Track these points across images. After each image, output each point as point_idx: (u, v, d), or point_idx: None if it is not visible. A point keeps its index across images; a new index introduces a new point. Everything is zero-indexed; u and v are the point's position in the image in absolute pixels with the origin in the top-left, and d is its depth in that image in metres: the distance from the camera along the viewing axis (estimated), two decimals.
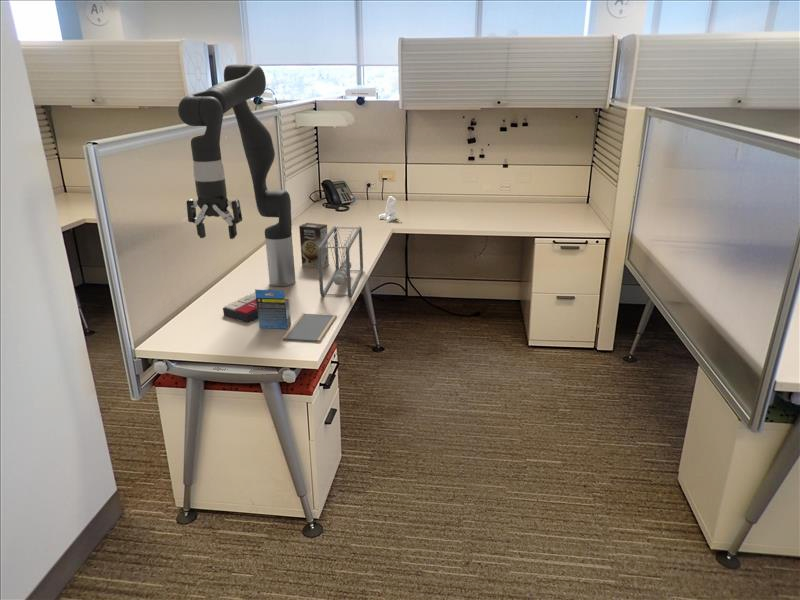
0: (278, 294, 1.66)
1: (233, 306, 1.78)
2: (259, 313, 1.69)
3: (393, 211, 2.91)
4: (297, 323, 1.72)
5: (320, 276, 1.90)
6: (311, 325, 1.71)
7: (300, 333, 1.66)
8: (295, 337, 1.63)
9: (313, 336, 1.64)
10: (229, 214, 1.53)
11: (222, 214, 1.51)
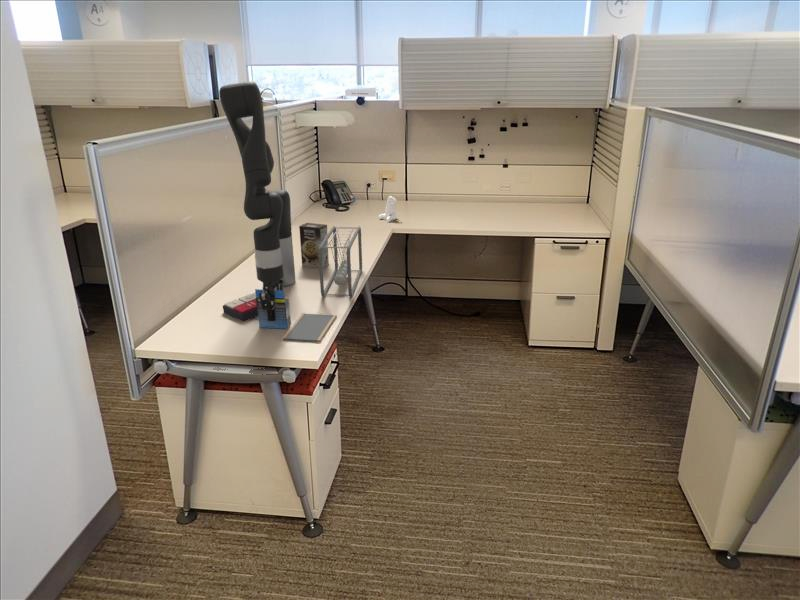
0: (278, 294, 1.66)
1: (232, 304, 1.80)
2: (259, 313, 1.69)
3: (393, 211, 2.91)
4: (297, 323, 1.72)
5: (321, 276, 1.90)
6: (311, 325, 1.71)
7: (300, 333, 1.66)
8: (295, 337, 1.63)
9: (313, 336, 1.64)
10: None
11: None
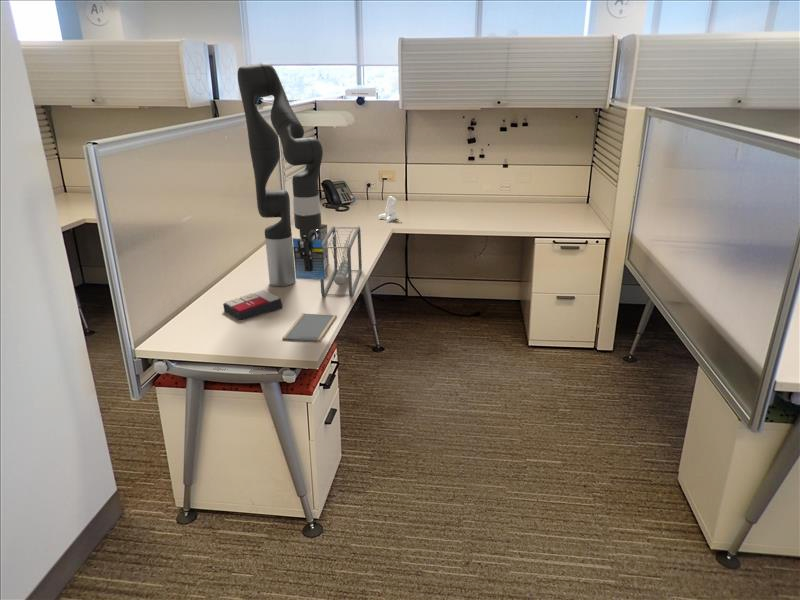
0: (316, 243, 1.64)
1: (232, 303, 1.81)
2: (296, 263, 1.67)
3: (393, 211, 2.91)
4: (297, 323, 1.72)
5: None
6: (311, 325, 1.71)
7: (300, 333, 1.66)
8: (295, 337, 1.63)
9: (313, 336, 1.64)
10: None
11: None
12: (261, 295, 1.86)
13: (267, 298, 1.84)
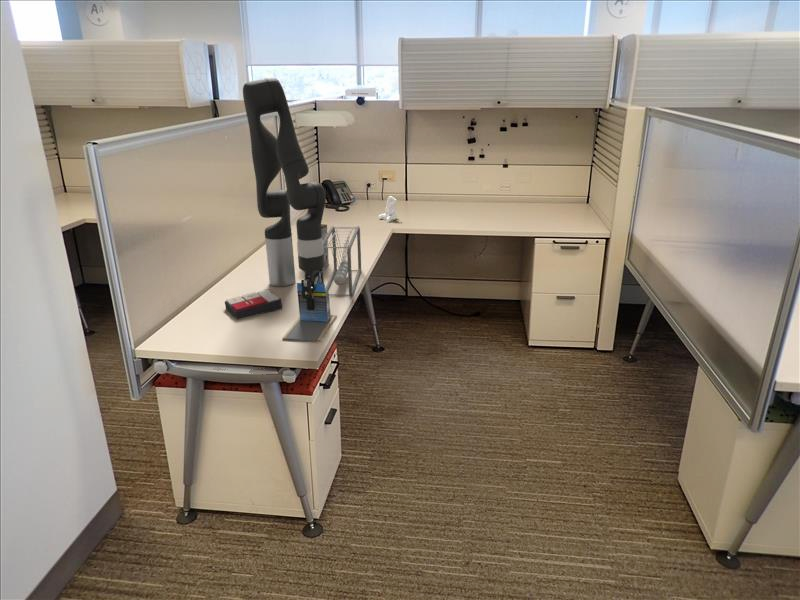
0: (319, 288, 1.69)
1: (232, 301, 1.82)
2: (300, 306, 1.72)
3: (393, 211, 2.91)
4: (297, 323, 1.72)
5: None
6: (311, 325, 1.71)
7: (300, 333, 1.66)
8: (295, 337, 1.63)
9: (313, 336, 1.64)
10: None
11: (321, 280, 1.73)
12: (263, 295, 1.86)
13: (267, 298, 1.84)
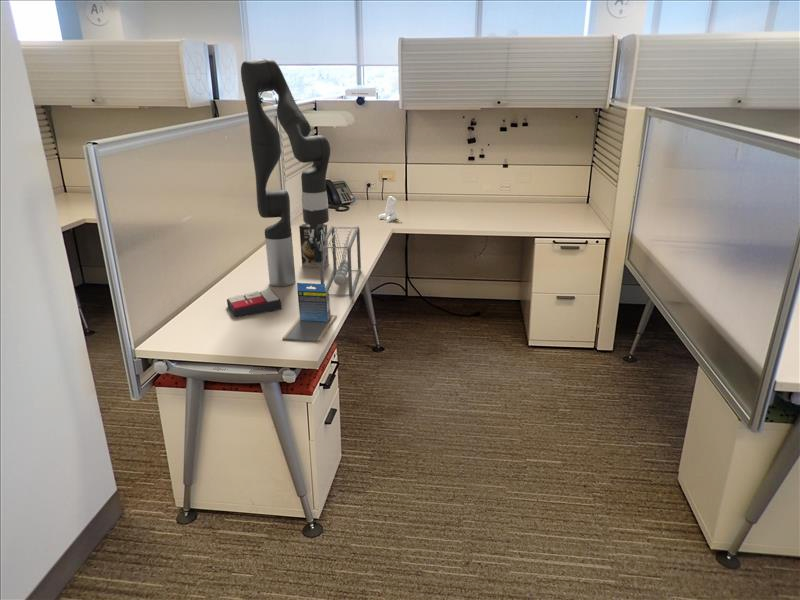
0: (319, 287, 1.69)
1: (233, 299, 1.84)
2: (300, 306, 1.72)
3: (393, 211, 2.91)
4: (297, 323, 1.72)
5: (321, 276, 1.90)
6: (311, 325, 1.71)
7: (300, 333, 1.66)
8: (295, 337, 1.63)
9: (313, 336, 1.64)
10: None
11: (324, 237, 1.74)
12: (264, 294, 1.87)
13: (267, 298, 1.84)
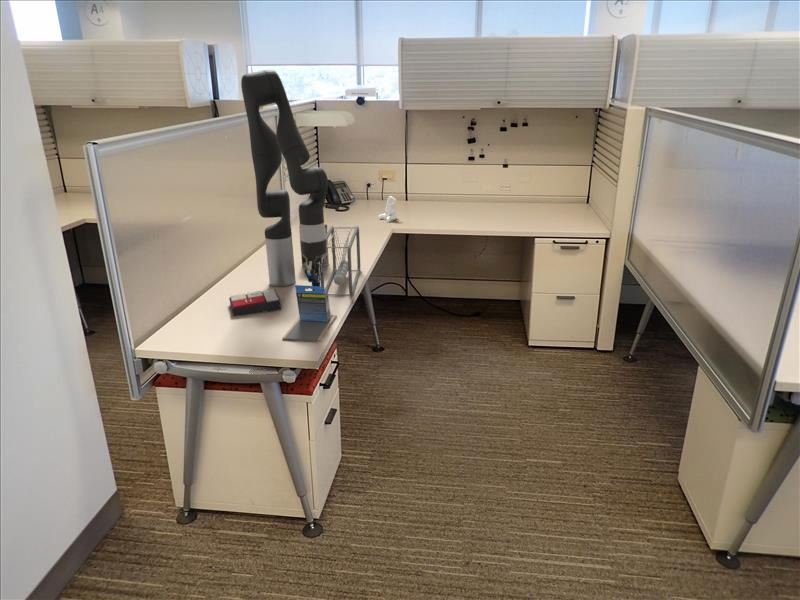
0: (318, 290, 1.67)
1: (235, 297, 1.85)
2: (299, 307, 1.72)
3: (393, 211, 2.91)
4: (297, 323, 1.72)
5: None
6: (311, 325, 1.71)
7: (300, 333, 1.66)
8: (295, 337, 1.63)
9: (313, 336, 1.64)
10: None
11: (321, 268, 1.72)
12: (266, 294, 1.87)
13: (268, 298, 1.84)
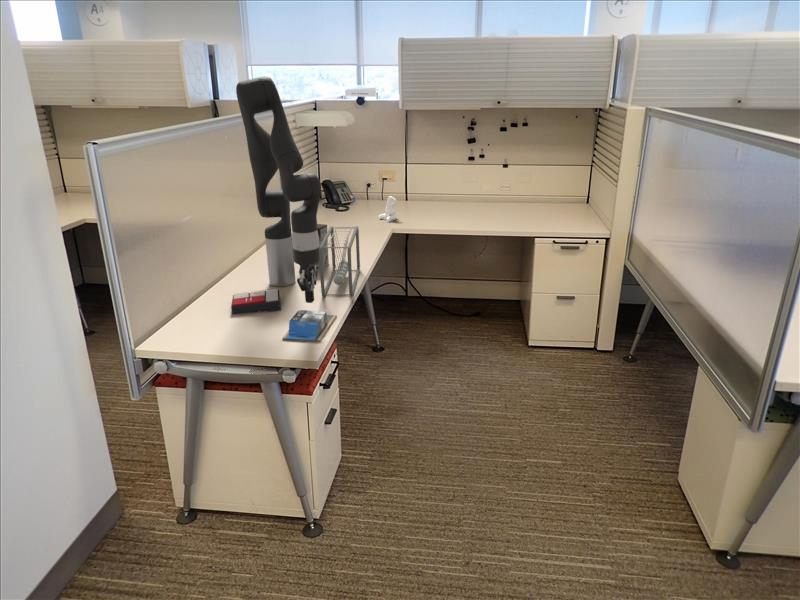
0: None
1: (237, 296, 1.87)
2: None
3: (393, 211, 2.91)
4: None
5: (321, 276, 1.90)
6: None
7: None
8: None
9: None
10: None
11: (315, 277, 1.68)
12: (268, 294, 1.87)
13: (268, 298, 1.84)
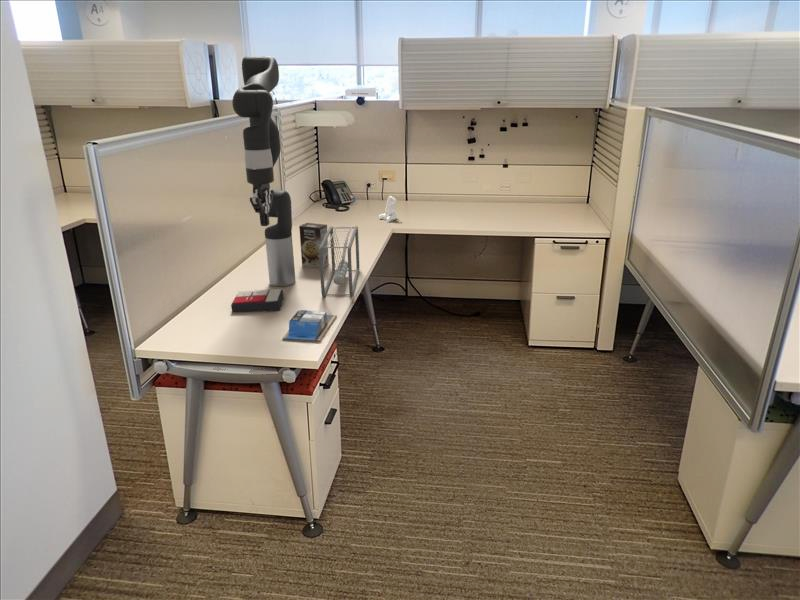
0: None
1: (241, 294, 1.88)
2: None
3: (393, 211, 2.91)
4: None
5: (322, 276, 1.90)
6: None
7: None
8: None
9: None
10: None
11: (269, 199, 1.66)
12: (270, 293, 1.87)
13: (268, 297, 1.84)
